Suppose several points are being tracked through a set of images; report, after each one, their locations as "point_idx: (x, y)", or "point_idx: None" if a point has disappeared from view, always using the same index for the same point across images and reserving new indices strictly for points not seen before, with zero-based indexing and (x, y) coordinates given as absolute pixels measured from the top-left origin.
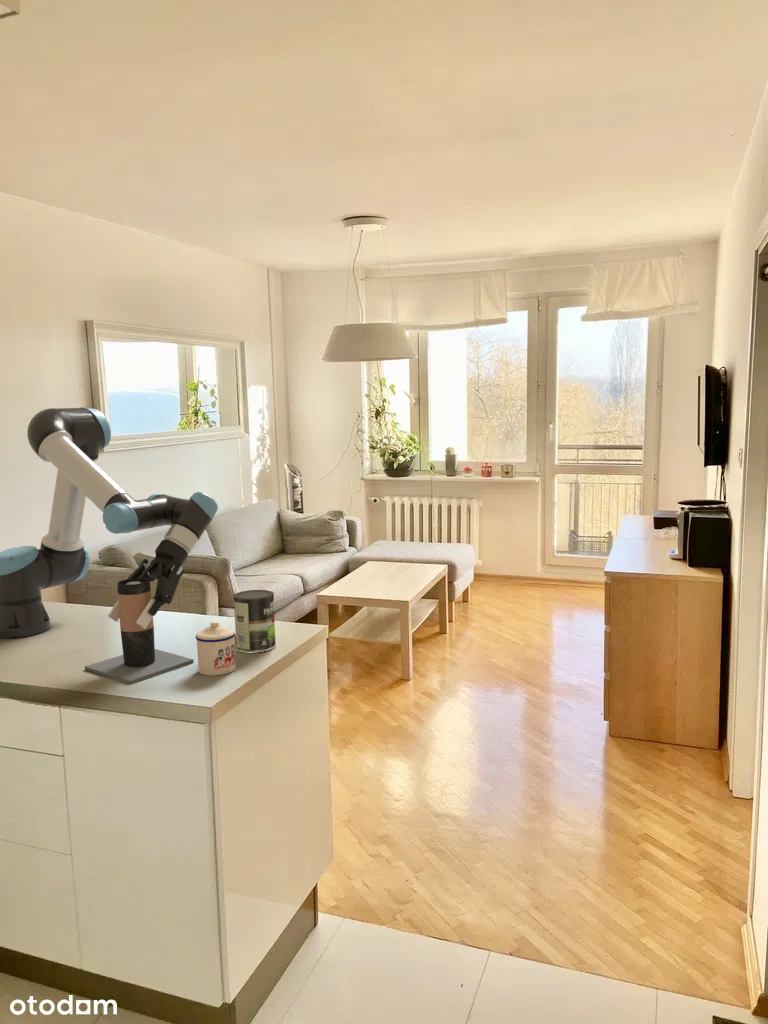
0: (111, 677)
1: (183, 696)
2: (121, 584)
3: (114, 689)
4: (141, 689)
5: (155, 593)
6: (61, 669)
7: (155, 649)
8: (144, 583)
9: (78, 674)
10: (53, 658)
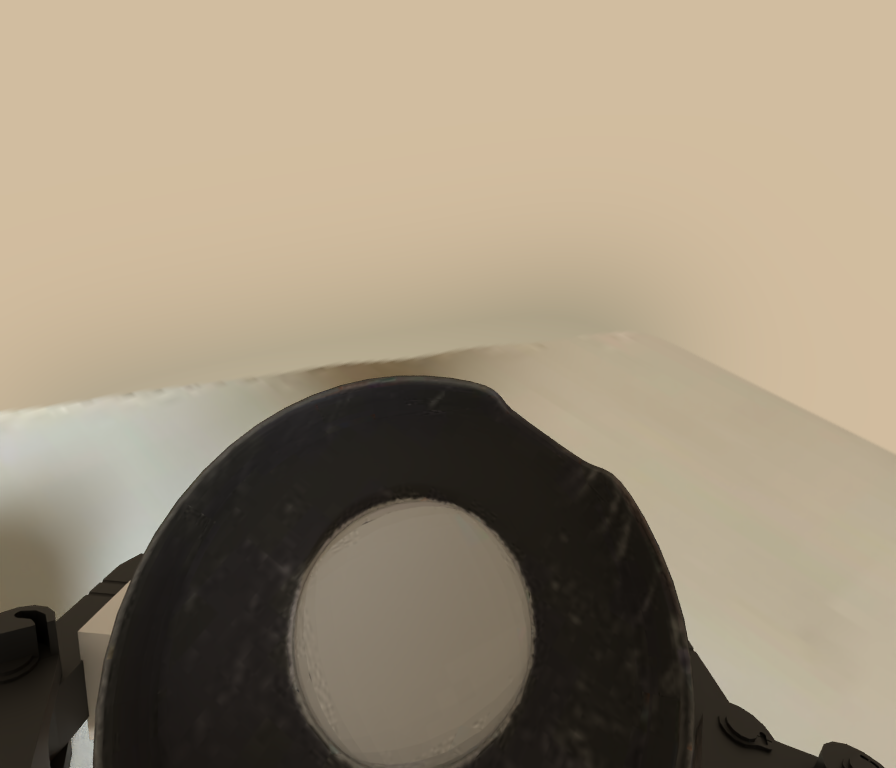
0: None
1: (4, 459)
2: (419, 377)
3: None
4: (207, 442)
5: (38, 731)
6: (624, 451)
7: None
8: (118, 626)
9: None
10: (772, 516)
